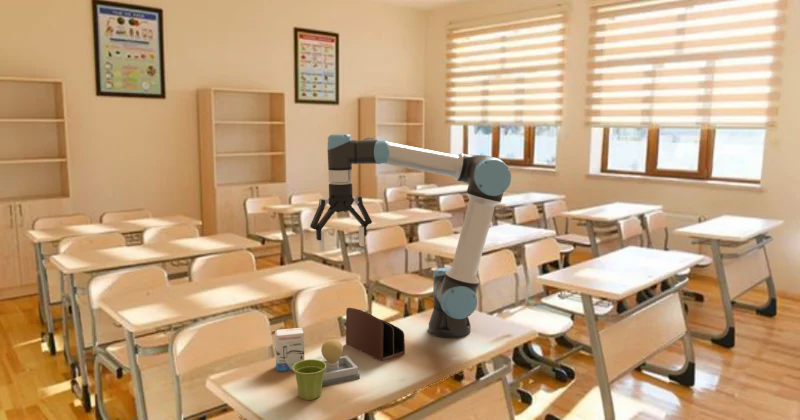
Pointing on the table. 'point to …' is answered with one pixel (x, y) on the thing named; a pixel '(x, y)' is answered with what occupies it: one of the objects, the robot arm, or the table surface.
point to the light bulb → (332, 354)
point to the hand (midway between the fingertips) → (342, 247)
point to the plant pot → (309, 378)
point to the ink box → (289, 348)
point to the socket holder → (341, 372)
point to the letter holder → (373, 335)
